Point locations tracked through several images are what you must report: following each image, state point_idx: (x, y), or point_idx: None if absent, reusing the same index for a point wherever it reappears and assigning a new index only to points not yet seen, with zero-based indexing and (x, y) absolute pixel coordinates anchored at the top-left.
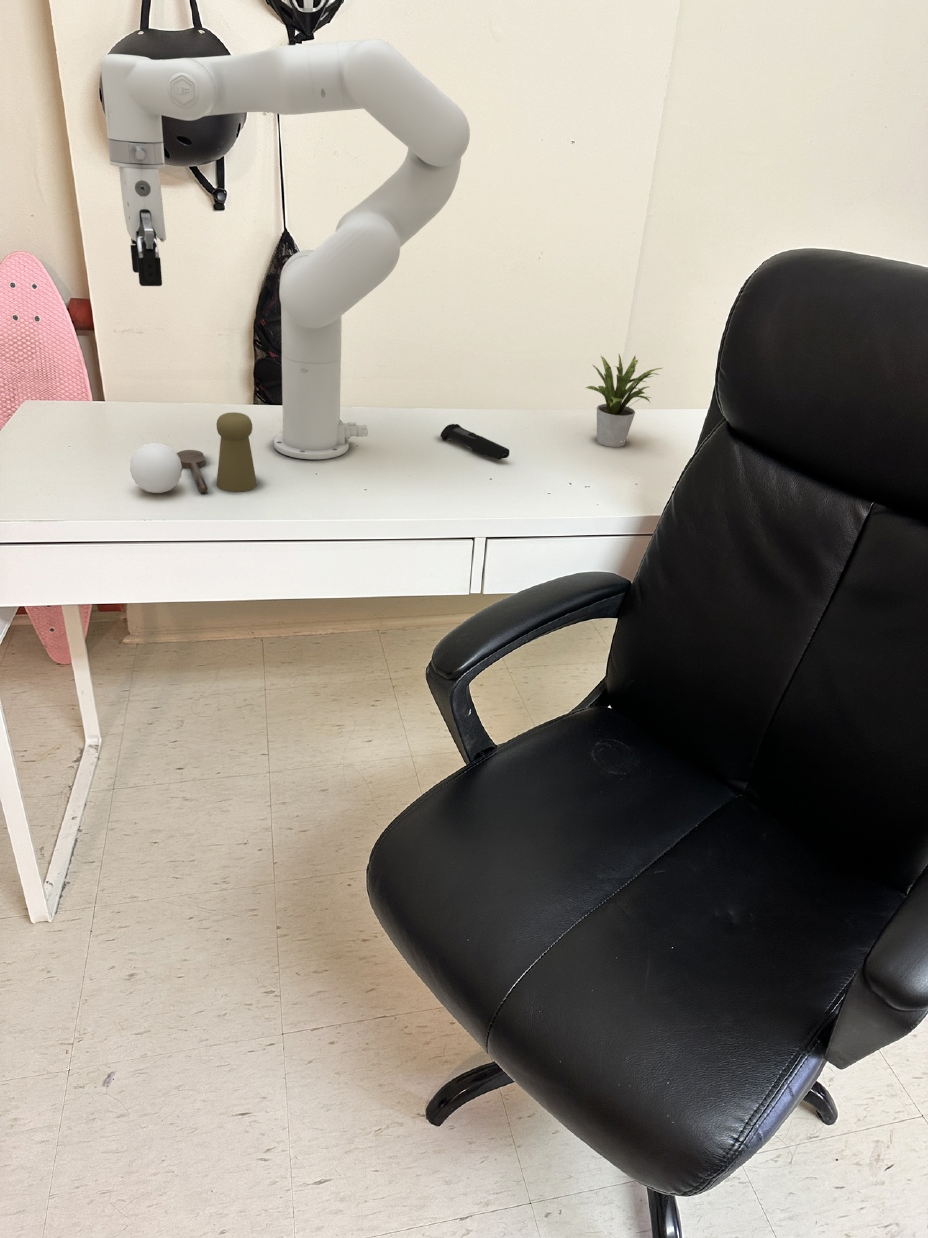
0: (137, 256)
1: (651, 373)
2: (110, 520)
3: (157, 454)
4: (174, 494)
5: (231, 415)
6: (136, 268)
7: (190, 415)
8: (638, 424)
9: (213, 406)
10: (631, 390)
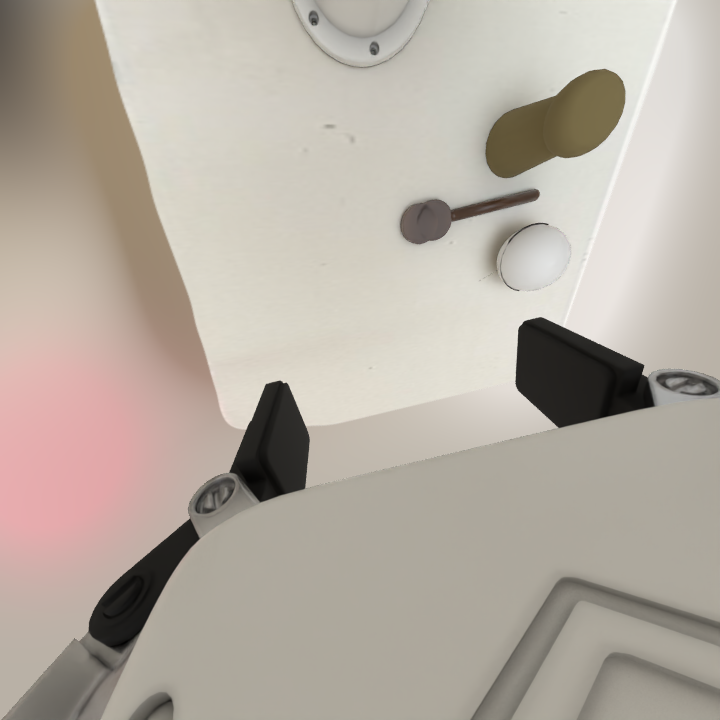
0: (299, 468)
1: None
2: (572, 294)
3: (569, 255)
4: None
5: (602, 115)
6: (305, 438)
7: (227, 240)
8: None
9: (167, 203)
10: None
